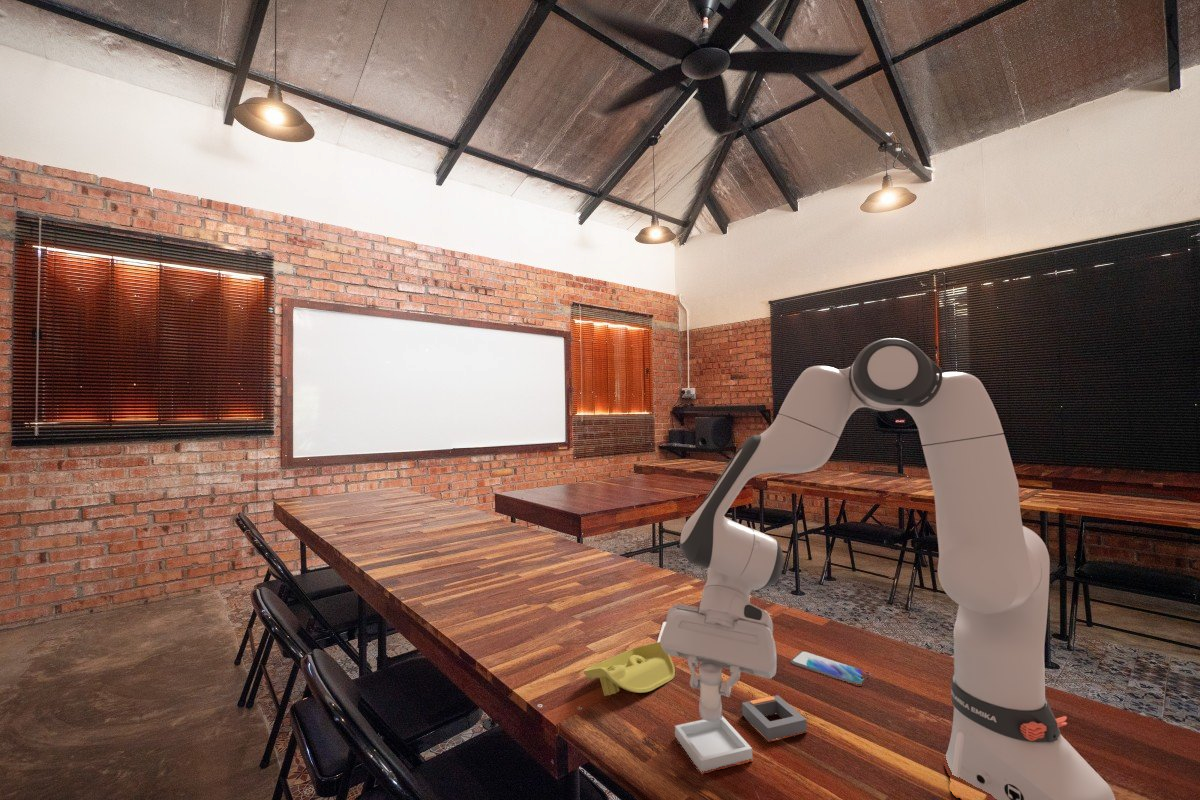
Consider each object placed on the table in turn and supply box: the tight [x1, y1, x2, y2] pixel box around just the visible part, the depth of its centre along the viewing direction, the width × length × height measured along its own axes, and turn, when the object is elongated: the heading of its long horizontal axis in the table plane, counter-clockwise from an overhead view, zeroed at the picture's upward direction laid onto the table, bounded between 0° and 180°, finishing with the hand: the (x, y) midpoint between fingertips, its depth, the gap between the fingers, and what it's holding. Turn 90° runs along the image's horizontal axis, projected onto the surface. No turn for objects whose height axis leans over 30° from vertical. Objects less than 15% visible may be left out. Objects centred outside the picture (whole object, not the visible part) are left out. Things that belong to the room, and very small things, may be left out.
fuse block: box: [741, 695, 808, 740], centre depth 93 cm, size 8×8×3 cm
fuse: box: [698, 662, 723, 722], centre depth 87 cm, size 4×4×8 cm
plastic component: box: [582, 641, 676, 697], centre depth 108 cm, size 20×7×10 cm
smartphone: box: [790, 650, 871, 684], centre depth 113 cm, size 7×1×15 cm
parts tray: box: [674, 715, 753, 772], centre depth 87 cm, size 9×9×2 cm
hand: (709, 691), depth 86 cm, fingers closed on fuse, 4 cm apart
